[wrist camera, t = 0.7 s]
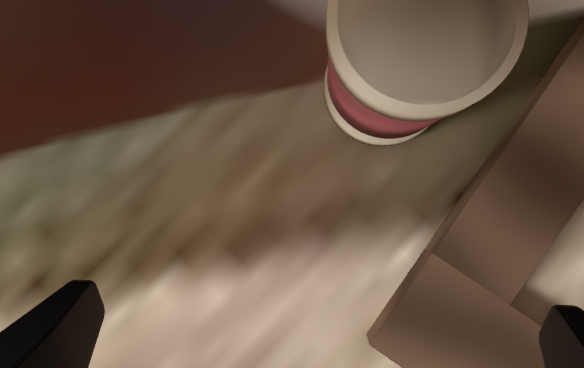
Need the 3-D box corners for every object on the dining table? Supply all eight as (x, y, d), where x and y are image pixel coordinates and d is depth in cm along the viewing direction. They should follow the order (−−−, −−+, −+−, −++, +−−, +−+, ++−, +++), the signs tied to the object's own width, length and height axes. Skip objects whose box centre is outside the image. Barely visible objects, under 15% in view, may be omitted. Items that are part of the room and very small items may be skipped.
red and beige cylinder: (456, 125, 21) (556, 78, 12) (345, 161, 21) (362, 141, 13) (419, 15, 21) (491, -111, 12) (309, 53, 22) (301, -43, 13)
